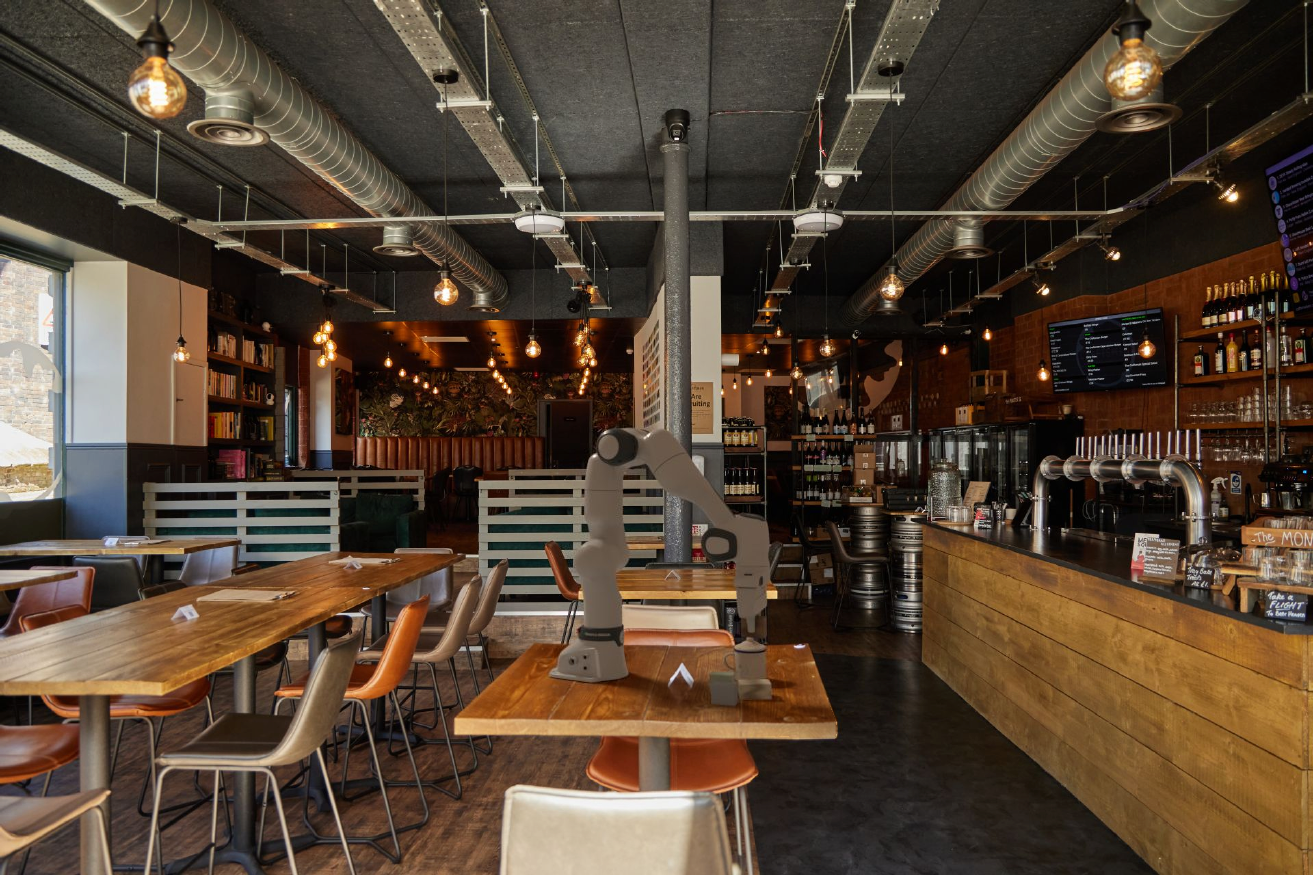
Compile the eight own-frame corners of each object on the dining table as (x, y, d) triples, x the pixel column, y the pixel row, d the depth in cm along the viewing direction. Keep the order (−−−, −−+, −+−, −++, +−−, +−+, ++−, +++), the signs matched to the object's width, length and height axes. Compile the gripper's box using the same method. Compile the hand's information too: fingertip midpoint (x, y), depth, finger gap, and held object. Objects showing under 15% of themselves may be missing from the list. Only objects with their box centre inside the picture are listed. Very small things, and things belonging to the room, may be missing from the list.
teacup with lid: (767, 676, 242) (767, 634, 242) (766, 684, 233) (765, 641, 233) (725, 674, 244) (724, 633, 244) (722, 682, 235) (721, 640, 235)
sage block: (709, 693, 224) (709, 674, 225) (712, 690, 228) (712, 671, 228) (732, 695, 223) (731, 675, 223) (734, 691, 226) (734, 672, 226)
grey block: (711, 704, 214) (711, 684, 214) (714, 700, 217) (714, 680, 217) (734, 706, 212) (734, 685, 212) (737, 702, 215) (737, 682, 216)
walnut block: (741, 637, 220) (740, 617, 220) (744, 634, 224) (743, 615, 224) (764, 638, 218) (763, 618, 219) (766, 635, 222) (766, 616, 222)
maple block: (740, 700, 218) (740, 684, 218) (737, 695, 223) (737, 679, 223) (771, 699, 218) (771, 683, 218) (768, 694, 223) (768, 679, 223)
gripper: (749, 571, 232) (749, 622, 232) (732, 580, 213) (733, 636, 212) (772, 571, 231) (772, 623, 230) (757, 581, 211) (758, 638, 211)
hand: (753, 630), depth 221 cm, fingers closed on walnut block, 3 cm apart
